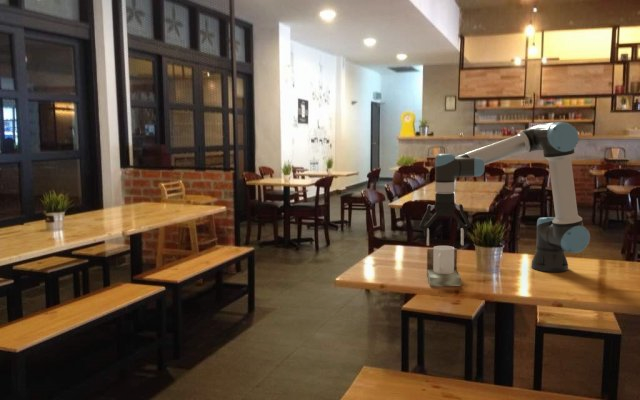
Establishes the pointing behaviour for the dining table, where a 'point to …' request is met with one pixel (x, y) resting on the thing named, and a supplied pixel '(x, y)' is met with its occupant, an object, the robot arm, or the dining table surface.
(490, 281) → the dining table surface
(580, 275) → the dining table surface
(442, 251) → the mug
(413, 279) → the dining table surface
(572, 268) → the dining table surface
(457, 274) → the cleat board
